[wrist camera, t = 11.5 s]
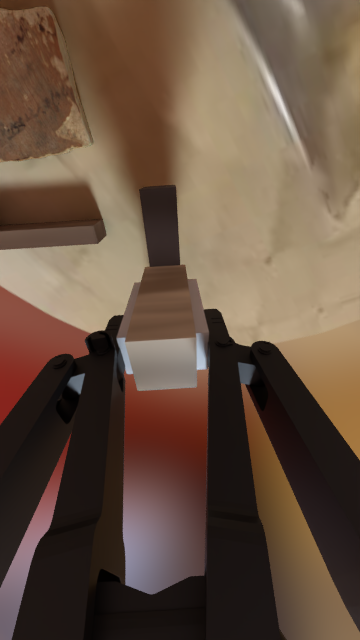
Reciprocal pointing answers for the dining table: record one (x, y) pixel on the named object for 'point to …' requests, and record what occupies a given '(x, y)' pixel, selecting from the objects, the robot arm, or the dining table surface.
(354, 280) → the dining table surface
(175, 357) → the scraper
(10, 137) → the shard
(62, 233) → the walnut bay
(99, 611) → the robot arm
